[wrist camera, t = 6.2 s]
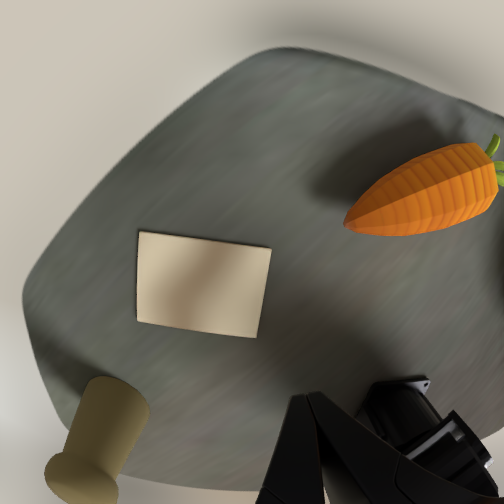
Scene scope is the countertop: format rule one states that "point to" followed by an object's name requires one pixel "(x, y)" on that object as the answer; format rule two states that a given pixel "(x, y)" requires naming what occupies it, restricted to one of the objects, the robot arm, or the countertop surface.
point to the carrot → (430, 192)
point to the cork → (98, 443)
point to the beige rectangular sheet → (201, 284)
